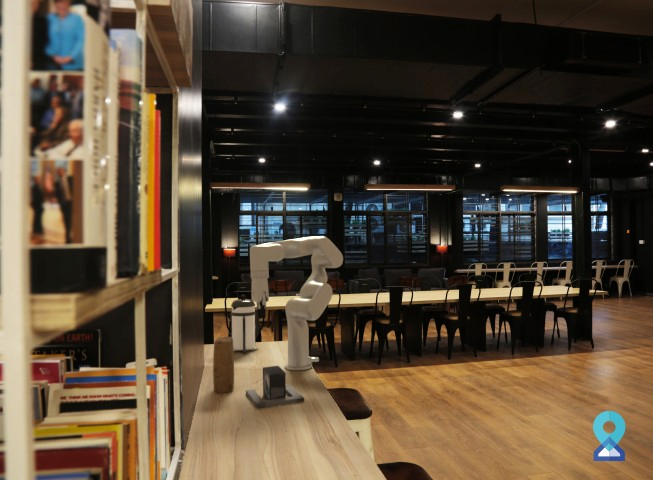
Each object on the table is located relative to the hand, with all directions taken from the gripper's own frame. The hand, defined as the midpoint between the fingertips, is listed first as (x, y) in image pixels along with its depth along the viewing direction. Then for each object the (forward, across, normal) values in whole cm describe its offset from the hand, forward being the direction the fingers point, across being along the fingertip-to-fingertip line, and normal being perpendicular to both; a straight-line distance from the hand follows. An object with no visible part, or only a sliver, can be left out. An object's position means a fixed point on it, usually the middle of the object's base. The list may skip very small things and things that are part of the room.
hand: (261, 318), depth 189 cm
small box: (+25, +26, -4) cm, 36 cm away
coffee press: (+27, -55, +6) cm, 62 cm away
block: (+25, +8, -18) cm, 32 cm away
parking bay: (+25, +26, -4) cm, 36 cm away
